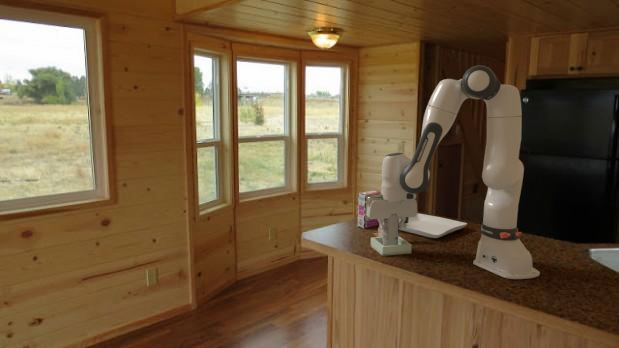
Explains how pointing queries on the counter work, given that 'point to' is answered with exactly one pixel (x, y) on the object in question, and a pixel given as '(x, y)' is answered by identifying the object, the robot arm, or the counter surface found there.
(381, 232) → the crank pedestal
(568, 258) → the counter surface
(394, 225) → the energy drink can
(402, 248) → the tray
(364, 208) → the candy bar box
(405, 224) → the crank lever
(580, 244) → the counter surface
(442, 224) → the square plate
